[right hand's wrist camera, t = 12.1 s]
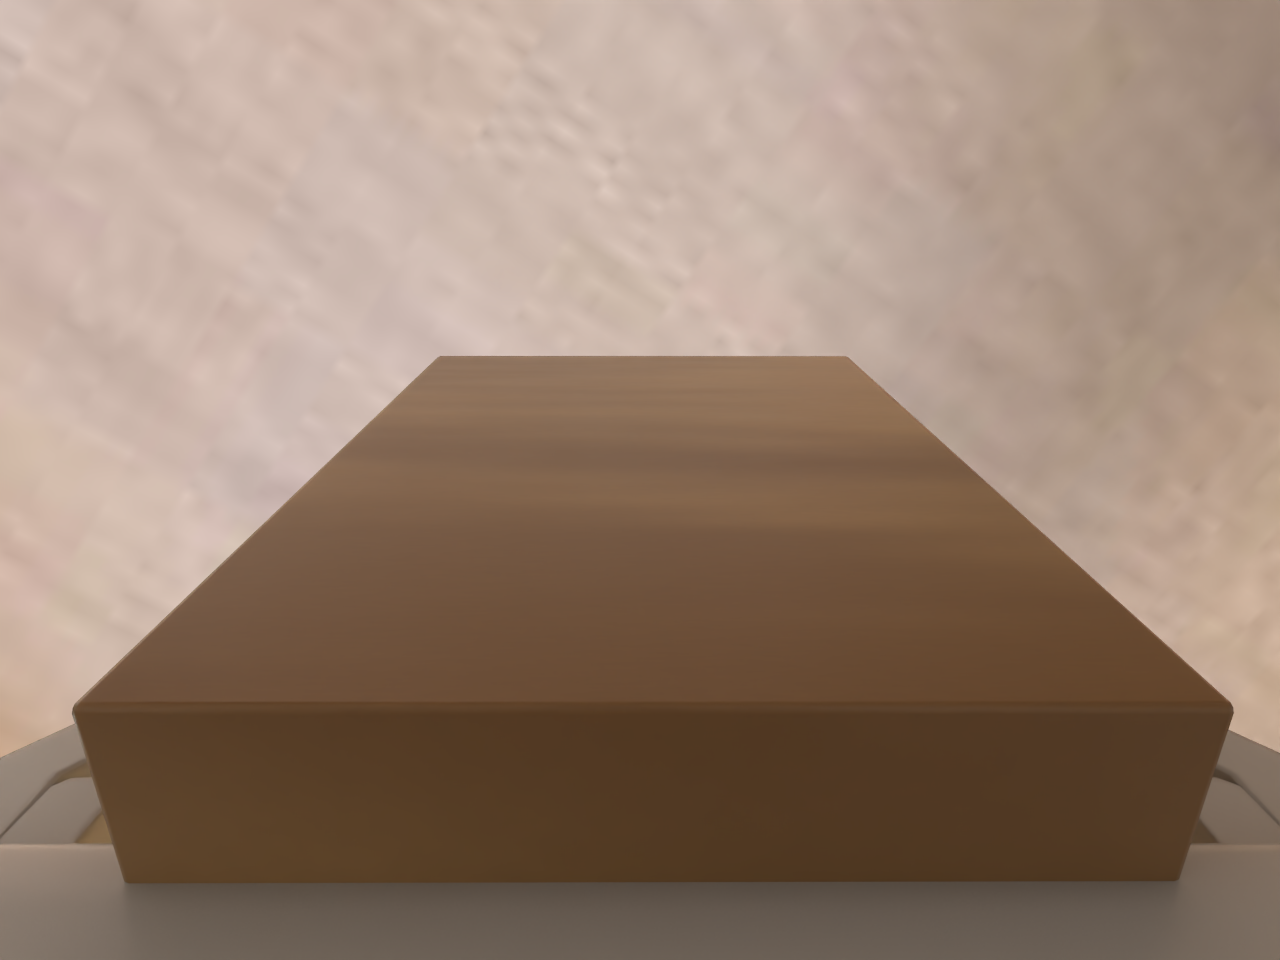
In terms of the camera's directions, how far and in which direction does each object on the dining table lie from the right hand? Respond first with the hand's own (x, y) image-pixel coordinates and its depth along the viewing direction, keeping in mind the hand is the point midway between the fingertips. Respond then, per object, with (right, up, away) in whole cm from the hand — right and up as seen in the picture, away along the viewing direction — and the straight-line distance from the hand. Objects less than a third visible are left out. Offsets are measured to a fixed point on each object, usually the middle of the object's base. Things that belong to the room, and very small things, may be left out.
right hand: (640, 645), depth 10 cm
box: (0, -8, +7) cm, 11 cm away
